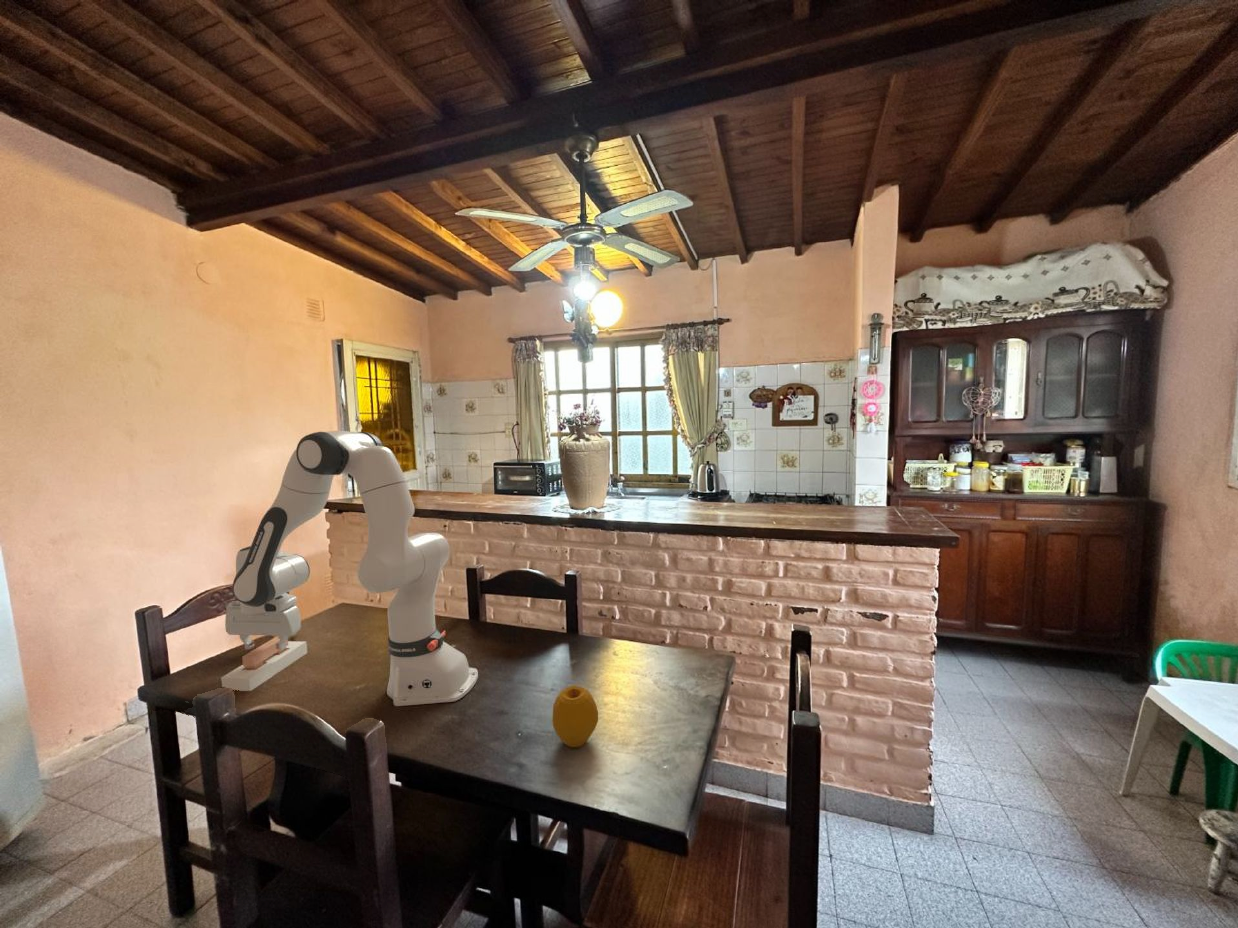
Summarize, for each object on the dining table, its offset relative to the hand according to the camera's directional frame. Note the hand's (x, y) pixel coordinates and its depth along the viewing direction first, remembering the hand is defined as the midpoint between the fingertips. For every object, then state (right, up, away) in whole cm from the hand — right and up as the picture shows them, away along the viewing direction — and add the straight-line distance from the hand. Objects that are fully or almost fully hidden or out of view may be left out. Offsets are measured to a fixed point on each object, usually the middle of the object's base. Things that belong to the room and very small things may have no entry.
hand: (265, 648), depth 134 cm
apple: (+90, -7, -32) cm, 96 cm away
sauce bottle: (-7, -5, +18) cm, 20 cm away
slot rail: (0, -6, +1) cm, 6 cm away
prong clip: (0, -6, +1) cm, 6 cm away
